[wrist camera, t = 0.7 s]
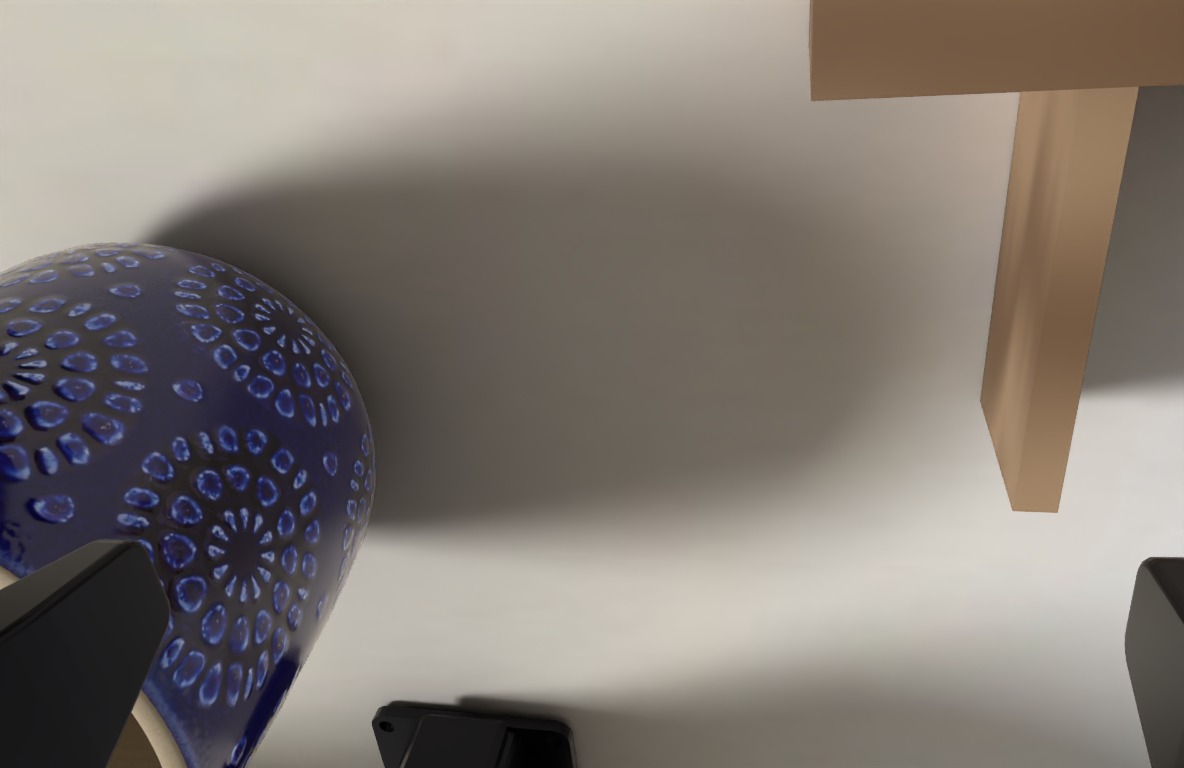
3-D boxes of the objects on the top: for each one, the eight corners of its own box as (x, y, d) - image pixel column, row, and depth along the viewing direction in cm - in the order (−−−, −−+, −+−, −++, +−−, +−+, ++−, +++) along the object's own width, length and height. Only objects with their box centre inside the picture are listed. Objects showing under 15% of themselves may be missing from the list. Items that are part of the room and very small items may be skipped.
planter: (462, 283, 23) (228, 628, 14) (382, 594, 29) (182, 982, 19) (24, 125, 23) (-516, 360, 13) (35, 469, 29) (-334, 798, 19)
